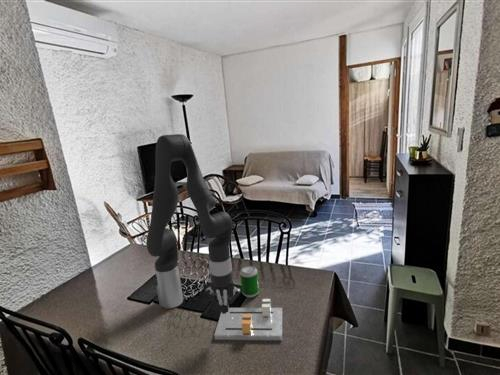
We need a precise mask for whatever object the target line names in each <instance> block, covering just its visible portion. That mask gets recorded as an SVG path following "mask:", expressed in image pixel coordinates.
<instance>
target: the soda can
mask: <svg viewBox="0 0 500 375" xmlns="http://www.w3.org/2000/svg"><path fill="white" fill-rule="evenodd" d="M239 274H240V283H241V286H240V287H241V294H243V296H245V297H246V298H254V297H256V296H257V295H258V294H259V292H260V286H259V274H258V269H257V268H256V267H255V266H253V265H246V266H244V267H242V269H241V270H240V272H239Z"/></svg>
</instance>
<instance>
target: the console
mask: <svg viewBox="0 0 500 375" xmlns="http://www.w3.org/2000/svg"><path fill="white" fill-rule="evenodd" d="M243 314H252V330H251V333H242V317H243ZM213 335H214V340H218V341H219V340H222V341H223V340H226V341H229V340H230V341H231V340H232V341H283V307H271V315H270V316H262V307H229V310H228V312H227V314H222V312H221V311H220V315H219V318H218V322H217V324H216V328H215V332H214V334H213Z"/></svg>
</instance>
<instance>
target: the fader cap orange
mask: <svg viewBox="0 0 500 375" xmlns="http://www.w3.org/2000/svg"><path fill="white" fill-rule="evenodd" d="M251 330H252V314H243V317H242V333H251Z"/></svg>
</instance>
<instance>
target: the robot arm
mask: <svg viewBox="0 0 500 375" xmlns="http://www.w3.org/2000/svg"><path fill="white" fill-rule="evenodd" d="M155 143H156V144H155V172H154V173H155V174H154V175H155V176H154V178H155V179H154V185H153V186H154V188H153V193H152V194H153V195H152V205H151V215H150V223H149V228H148V232H147V237H146V250H147V252H148V254H149V255H150V256H152V257H156V258H157V257H158V258H157V259H156V260H155V263H154V269H155V275H156V281H157V285H156V293H157V296H158V303H159V306H160V307H163V308H164V309H173V308H177V307H179V306H180V305H181V304H183V302H184V296H183V290H182V282H181V276H180V270H179V266H178V265H179V264H178V260H179V252H178V250H179V249H178V243H177V242H178V241H177V238H176V235H175V233H174V231H173V230H171V229H169V228H167V226H168V224H169V223H170V222H171V220H172V218H173V216H174V215H175V213H176V211H177V208H178V202H179V192H180V191H179V189H178V186H177V184H176V183H175V181H174V180H173V177H172V174H171V164H172V162H175V161H177V162H178V161H181V162H182V163H183V165H184V166H185V168H186V190H187V194H188V197H189V198H190V200H191V203H192V204H193V206H194V208H195V210H196V214H197V218H198V223H199V228H200V231H201V233H202V235H204V236H205V237H206V238H208V239H212V240H211V241H210V242H209V243H208V248H207V249H208V257H209V258H208V259H209V264H208V265H209V274H210V286H208V287H206V289H205V291H204V294H205V295H206V296H207V297H208V298H209V299H210V300H211V301H212V302H213V303H214V305H215V304H217V305H219V310H220V313H221V312H222V314H227V312H228V310H229V308H230V306H229V305H231V304H233V303H234V302H235V300H236V299H237V298H238V297H239V296H240V294H241V292H242V288H241V287H236V285H235V283H234V278H233V265H232V264H233V263H232V260H231V252H230V242H231V238H232V234H233V232H232V231H233V220H232V217H231V215H230V214H229V213H228V212H226V211H219V212H217V213H214V214H211V213H210V210H212V209H213V208H214V207H215V206H216V199H215V197H214V195H213V193H212V192H211V190H210V188H209V186H208V184H207V183H206V180H205V178H204V176H203V173H202V170H201V168H200V165H199V163H198V159H197V156H196V154H195V151H194V148H193V146H192V143H191V141H190V140H189V138H188V137H187V135H184V134H183V133H182V134H181V133H177V134H165V135H164V134H163V135H160V136H159V137H158V138H157V140H156V142H155ZM232 292H233V294H232V295H231V293H232ZM230 295H231V296H230ZM229 296H230V297H229Z"/></svg>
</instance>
